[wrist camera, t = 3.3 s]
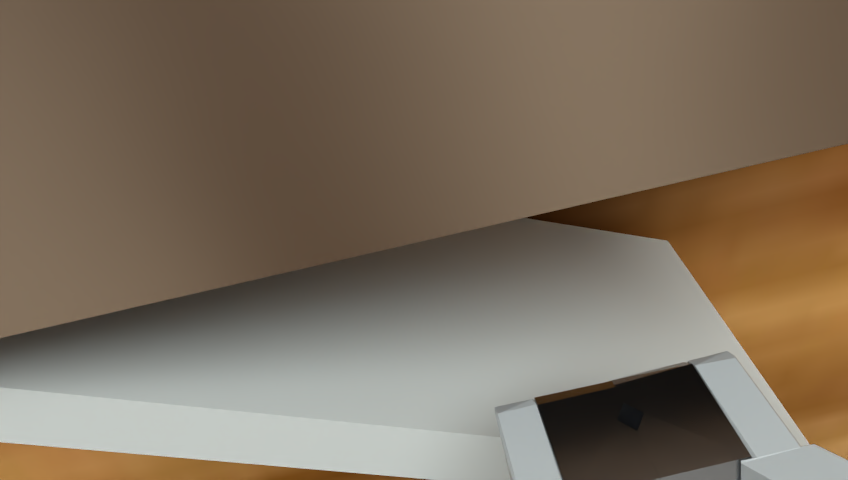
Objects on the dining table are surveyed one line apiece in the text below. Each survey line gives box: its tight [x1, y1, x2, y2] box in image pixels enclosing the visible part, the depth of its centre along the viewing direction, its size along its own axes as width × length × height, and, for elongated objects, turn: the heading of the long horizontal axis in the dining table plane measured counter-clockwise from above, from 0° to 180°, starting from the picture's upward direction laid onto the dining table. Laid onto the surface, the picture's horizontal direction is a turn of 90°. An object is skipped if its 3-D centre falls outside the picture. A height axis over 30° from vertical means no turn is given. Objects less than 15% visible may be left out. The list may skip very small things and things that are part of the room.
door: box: [0, 218, 810, 480], centre depth 14 cm, size 15×2×7 cm, turn 77°
